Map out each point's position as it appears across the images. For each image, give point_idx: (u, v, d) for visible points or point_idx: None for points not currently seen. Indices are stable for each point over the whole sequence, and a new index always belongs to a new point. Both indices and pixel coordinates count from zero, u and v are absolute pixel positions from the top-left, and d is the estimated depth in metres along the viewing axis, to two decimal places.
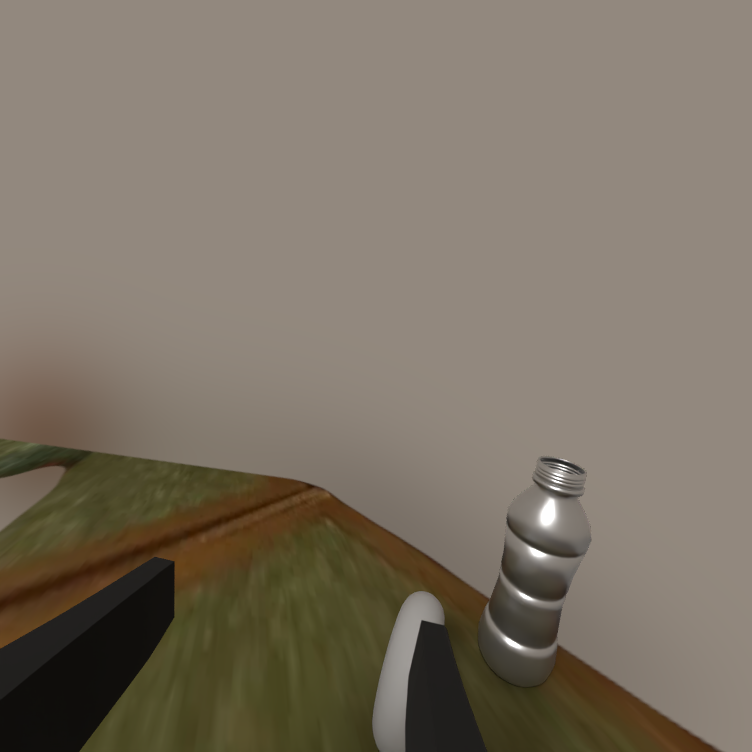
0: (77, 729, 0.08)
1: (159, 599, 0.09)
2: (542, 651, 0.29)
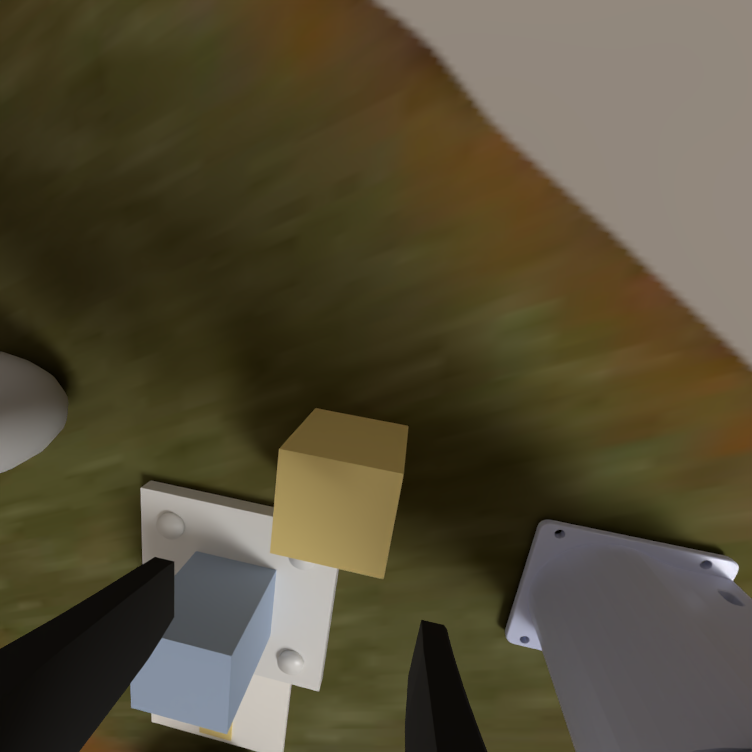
0: (77, 729, 0.08)
1: (159, 599, 0.09)
2: None
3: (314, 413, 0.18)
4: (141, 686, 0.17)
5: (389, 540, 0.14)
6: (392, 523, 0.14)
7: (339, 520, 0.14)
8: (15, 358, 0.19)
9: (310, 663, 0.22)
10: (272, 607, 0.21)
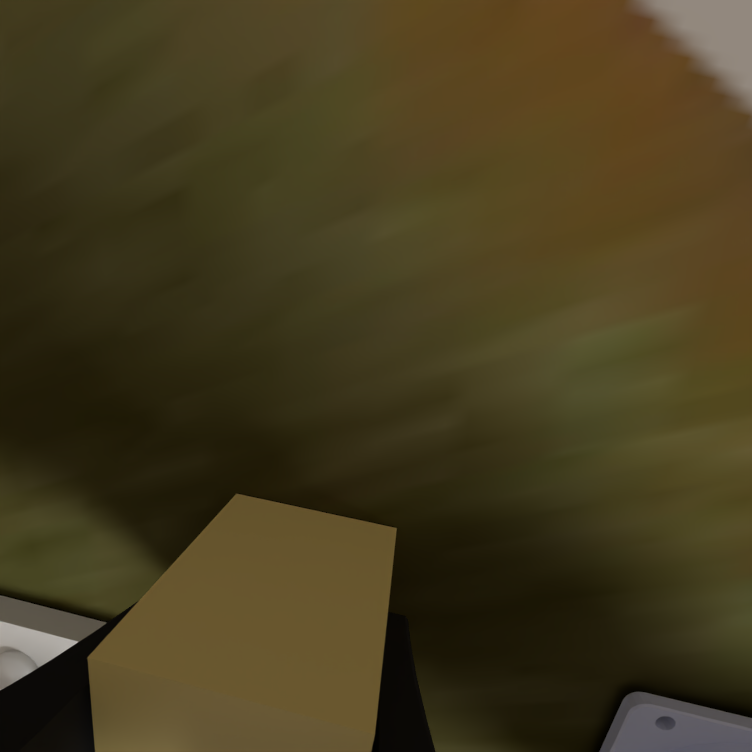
0: None
1: None
2: None
3: (226, 512, 0.10)
4: None
5: None
6: None
7: None
8: None
9: None
10: None
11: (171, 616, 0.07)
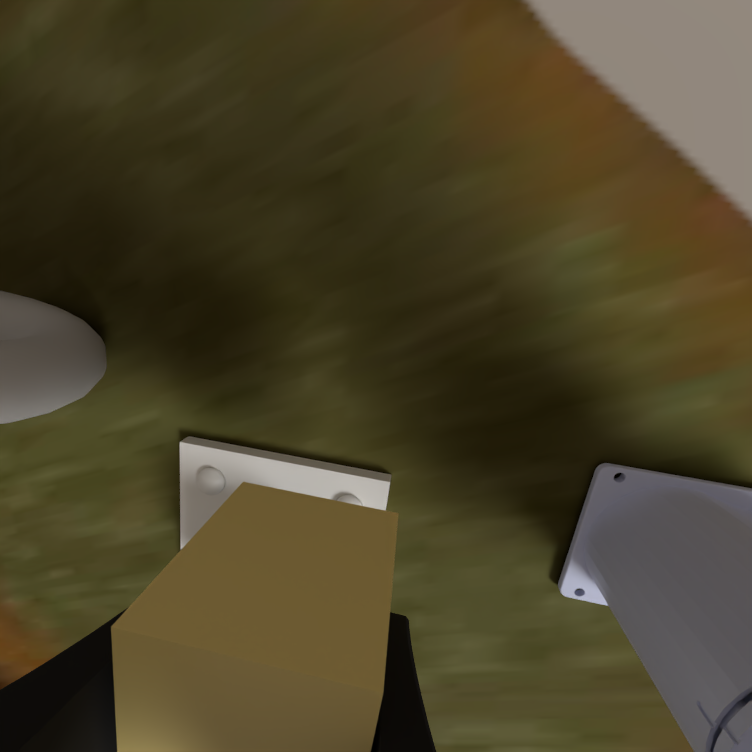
0: None
1: None
2: None
3: (234, 498, 0.10)
4: None
5: None
6: None
7: None
8: (52, 306, 0.18)
9: None
10: None
11: (187, 591, 0.07)
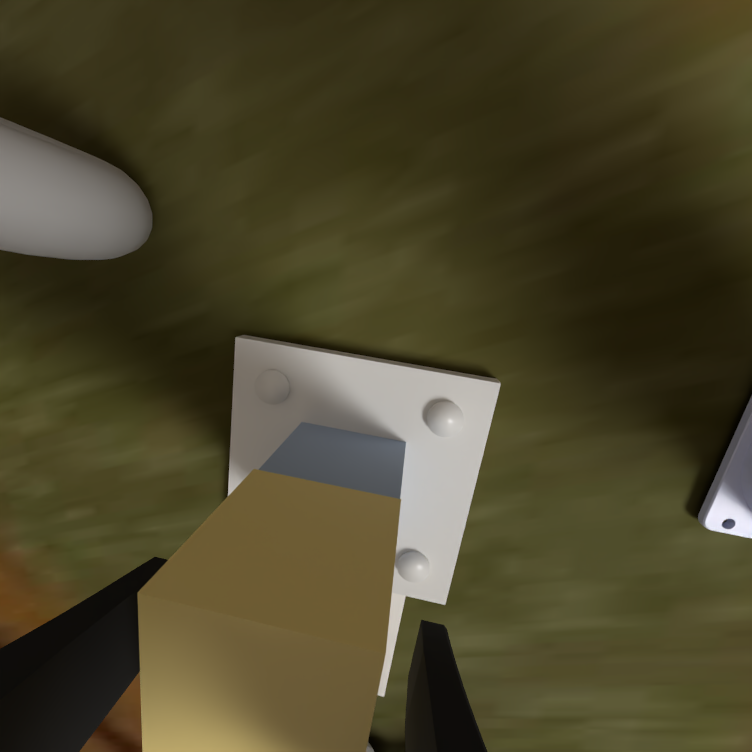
0: (77, 729, 0.08)
1: None
2: None
3: (246, 483, 0.11)
4: None
5: None
6: (365, 736, 0.07)
7: (263, 723, 0.07)
8: None
9: (438, 568, 0.18)
10: None
11: (205, 564, 0.08)
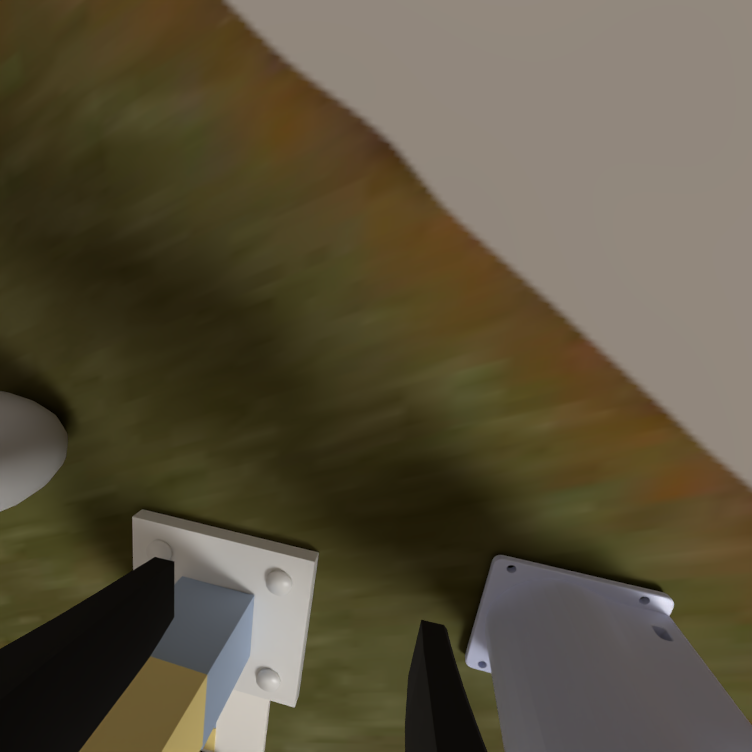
0: (77, 729, 0.08)
1: (159, 599, 0.09)
2: None
3: None
4: None
5: None
6: None
7: None
8: (21, 399, 0.21)
9: (286, 681, 0.24)
10: (251, 630, 0.23)
11: None
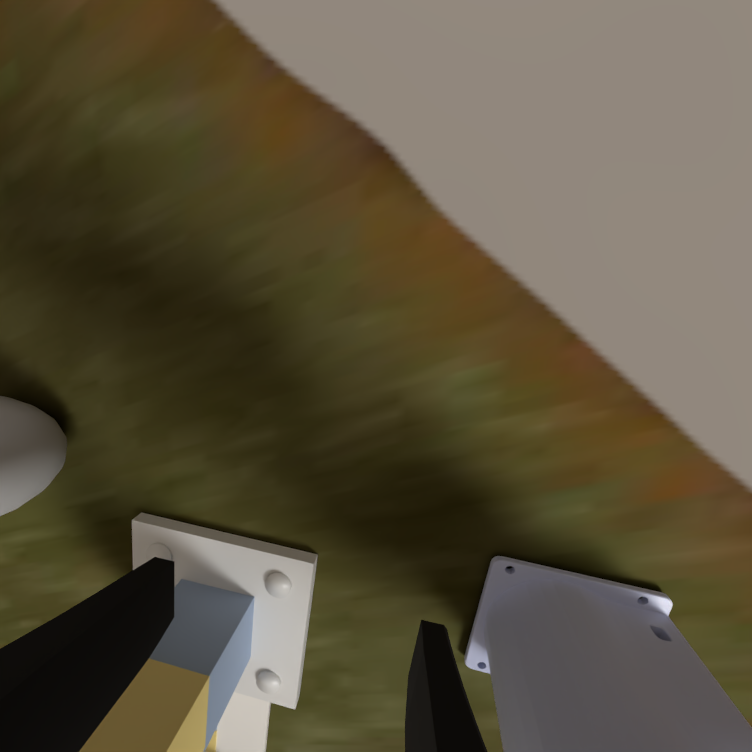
0: (77, 729, 0.08)
1: (159, 599, 0.09)
2: None
3: None
4: None
5: None
6: None
7: None
8: (20, 404, 0.21)
9: (286, 683, 0.24)
10: (251, 631, 0.23)
11: None
